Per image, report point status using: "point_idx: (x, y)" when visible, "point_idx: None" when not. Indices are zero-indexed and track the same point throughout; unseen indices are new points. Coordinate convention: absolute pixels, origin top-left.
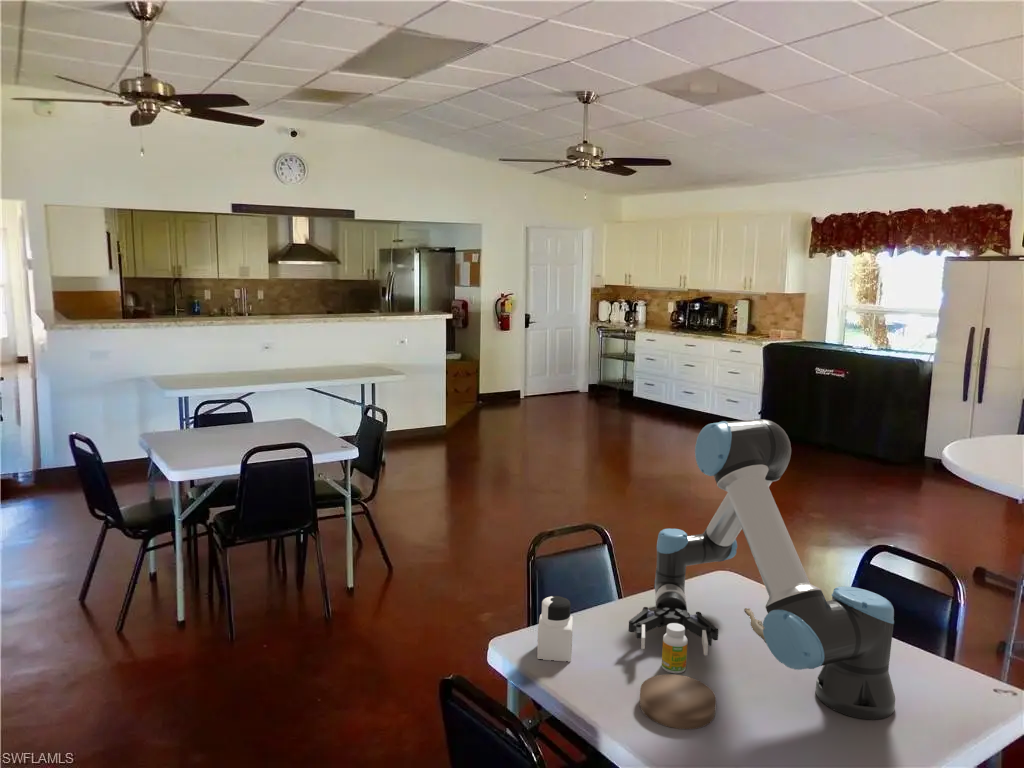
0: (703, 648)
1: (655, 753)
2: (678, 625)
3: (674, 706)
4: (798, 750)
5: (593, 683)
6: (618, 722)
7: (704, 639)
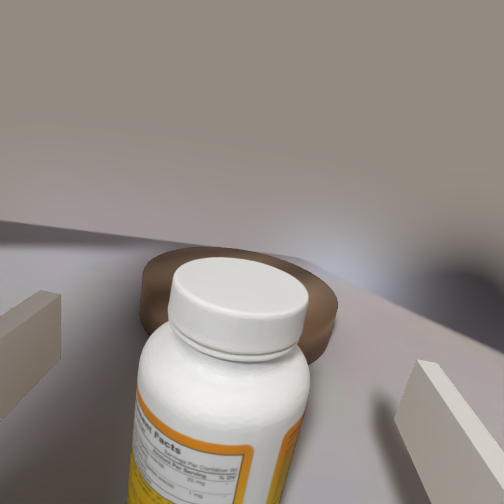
0: (31, 371)
1: (283, 259)
2: (217, 288)
3: (255, 261)
4: (46, 233)
5: (487, 403)
6: (354, 299)
7: (21, 320)
